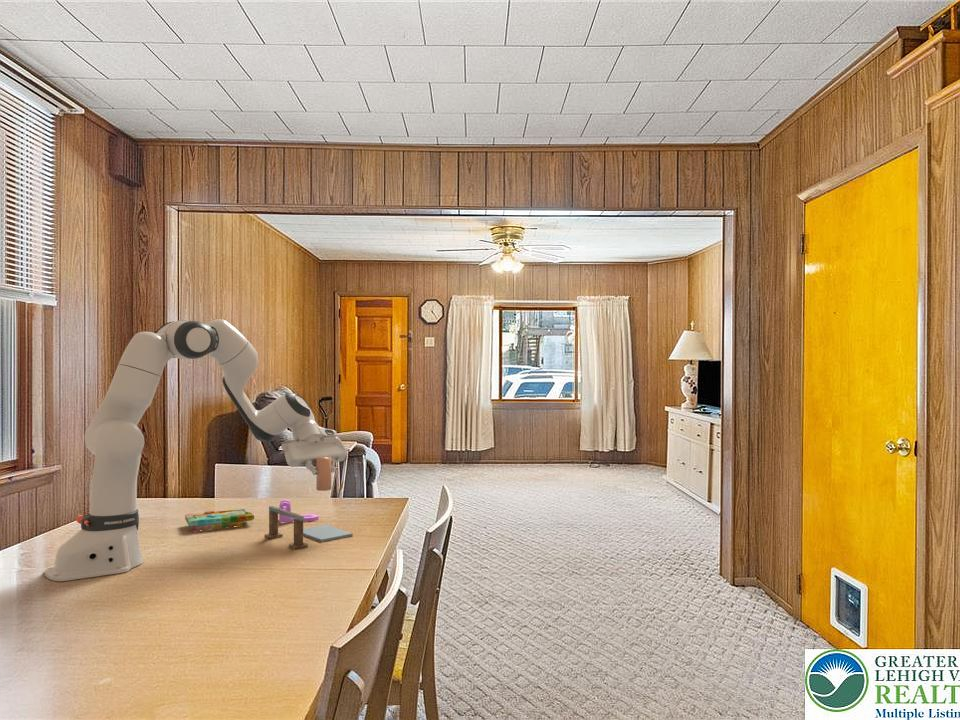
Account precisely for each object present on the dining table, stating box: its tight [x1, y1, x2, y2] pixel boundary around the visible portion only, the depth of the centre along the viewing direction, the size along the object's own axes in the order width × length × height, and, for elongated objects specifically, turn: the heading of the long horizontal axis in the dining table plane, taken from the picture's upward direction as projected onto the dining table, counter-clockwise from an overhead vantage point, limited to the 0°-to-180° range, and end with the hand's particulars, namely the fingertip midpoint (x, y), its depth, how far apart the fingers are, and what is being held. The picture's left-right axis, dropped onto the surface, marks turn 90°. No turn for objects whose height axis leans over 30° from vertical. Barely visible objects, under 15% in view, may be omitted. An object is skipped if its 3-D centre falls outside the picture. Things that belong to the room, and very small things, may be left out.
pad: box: [303, 524, 354, 543], centre depth 215 cm, size 11×16×1 cm
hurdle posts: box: [264, 510, 309, 550], centre depth 206 cm, size 4×20×8 cm, turn 43°
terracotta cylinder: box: [315, 457, 332, 492], centre depth 215 cm, size 5×5×10 cm
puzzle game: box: [184, 508, 255, 532], centre depth 226 cm, size 12×5×20 cm
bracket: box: [278, 499, 320, 523], centre depth 234 cm, size 13×6×7 cm, turn 105°
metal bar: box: [268, 505, 304, 521], centre depth 206 cm, size 1×20×1 cm, turn 43°
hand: (324, 472), depth 214 cm, fingers closed on terracotta cylinder, 5 cm apart
